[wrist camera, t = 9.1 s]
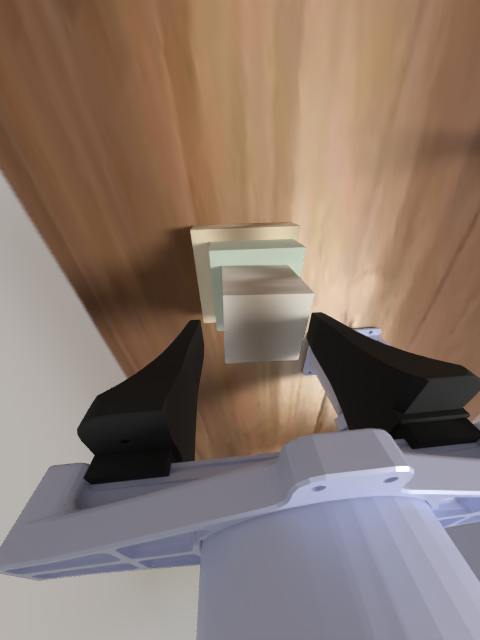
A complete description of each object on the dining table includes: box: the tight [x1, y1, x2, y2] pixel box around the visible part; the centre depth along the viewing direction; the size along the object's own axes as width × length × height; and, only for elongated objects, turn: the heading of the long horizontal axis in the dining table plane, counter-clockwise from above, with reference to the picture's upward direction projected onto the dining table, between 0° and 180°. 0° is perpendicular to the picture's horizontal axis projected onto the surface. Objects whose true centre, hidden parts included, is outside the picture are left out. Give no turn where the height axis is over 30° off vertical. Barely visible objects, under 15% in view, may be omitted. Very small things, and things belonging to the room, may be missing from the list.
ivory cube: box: [222, 265, 315, 364], centre depth 14 cm, size 5×5×5 cm
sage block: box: [209, 239, 306, 331], centre depth 17 cm, size 7×7×3 cm
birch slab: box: [190, 222, 300, 323], centre depth 20 cm, size 9×9×3 cm
